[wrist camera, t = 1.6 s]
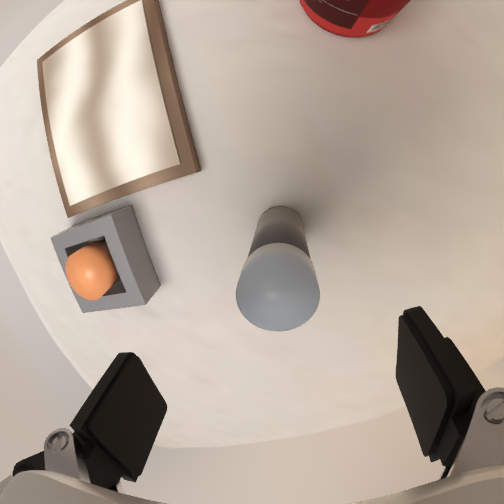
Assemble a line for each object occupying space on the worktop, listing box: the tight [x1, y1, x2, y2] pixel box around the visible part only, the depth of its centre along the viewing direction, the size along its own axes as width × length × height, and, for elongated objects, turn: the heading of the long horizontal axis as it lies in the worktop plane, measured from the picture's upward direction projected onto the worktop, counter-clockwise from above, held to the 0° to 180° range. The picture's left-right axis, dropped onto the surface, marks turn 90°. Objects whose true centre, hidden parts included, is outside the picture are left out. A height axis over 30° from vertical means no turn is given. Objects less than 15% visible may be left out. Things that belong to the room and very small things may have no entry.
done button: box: [65, 240, 120, 300], centre depth 22 cm, size 4×4×3 cm
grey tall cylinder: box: [236, 206, 320, 331], centre depth 18 cm, size 4×4×11 cm
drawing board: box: [37, 0, 201, 218], centre depth 20 cm, size 14×18×1 cm
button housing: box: [51, 205, 160, 313], centre depth 24 cm, size 8×8×4 cm
